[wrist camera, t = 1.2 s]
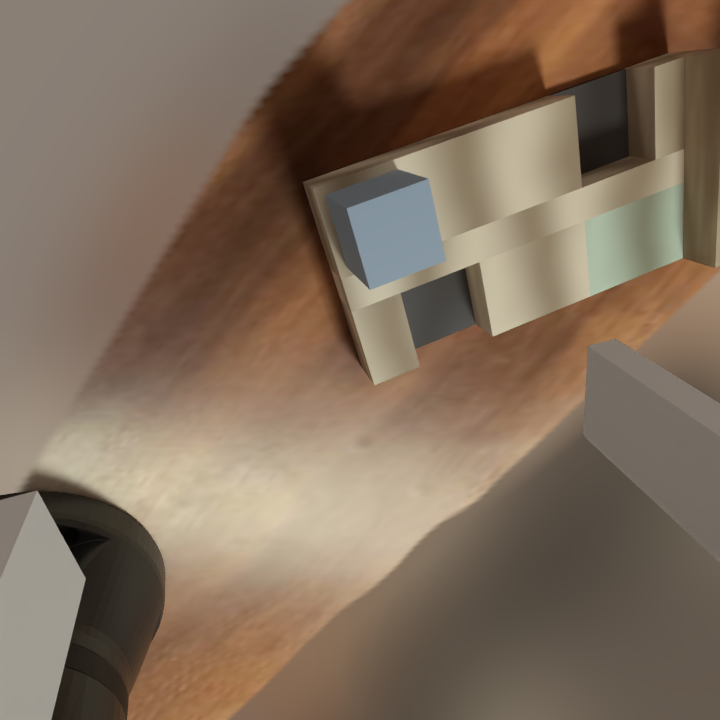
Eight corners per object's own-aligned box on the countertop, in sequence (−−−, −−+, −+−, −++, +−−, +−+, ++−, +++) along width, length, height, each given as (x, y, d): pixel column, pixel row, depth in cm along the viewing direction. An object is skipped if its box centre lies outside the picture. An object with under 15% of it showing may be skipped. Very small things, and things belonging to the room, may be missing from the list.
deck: (362, 367, 36) (388, 405, 31) (302, 181, 30) (324, 196, 25) (668, 243, 39) (731, 261, 34) (668, 52, 33) (743, 45, 29)
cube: (347, 267, 30) (370, 290, 26) (324, 195, 28) (346, 208, 24) (414, 242, 30) (446, 260, 27) (397, 169, 28) (428, 178, 25)
